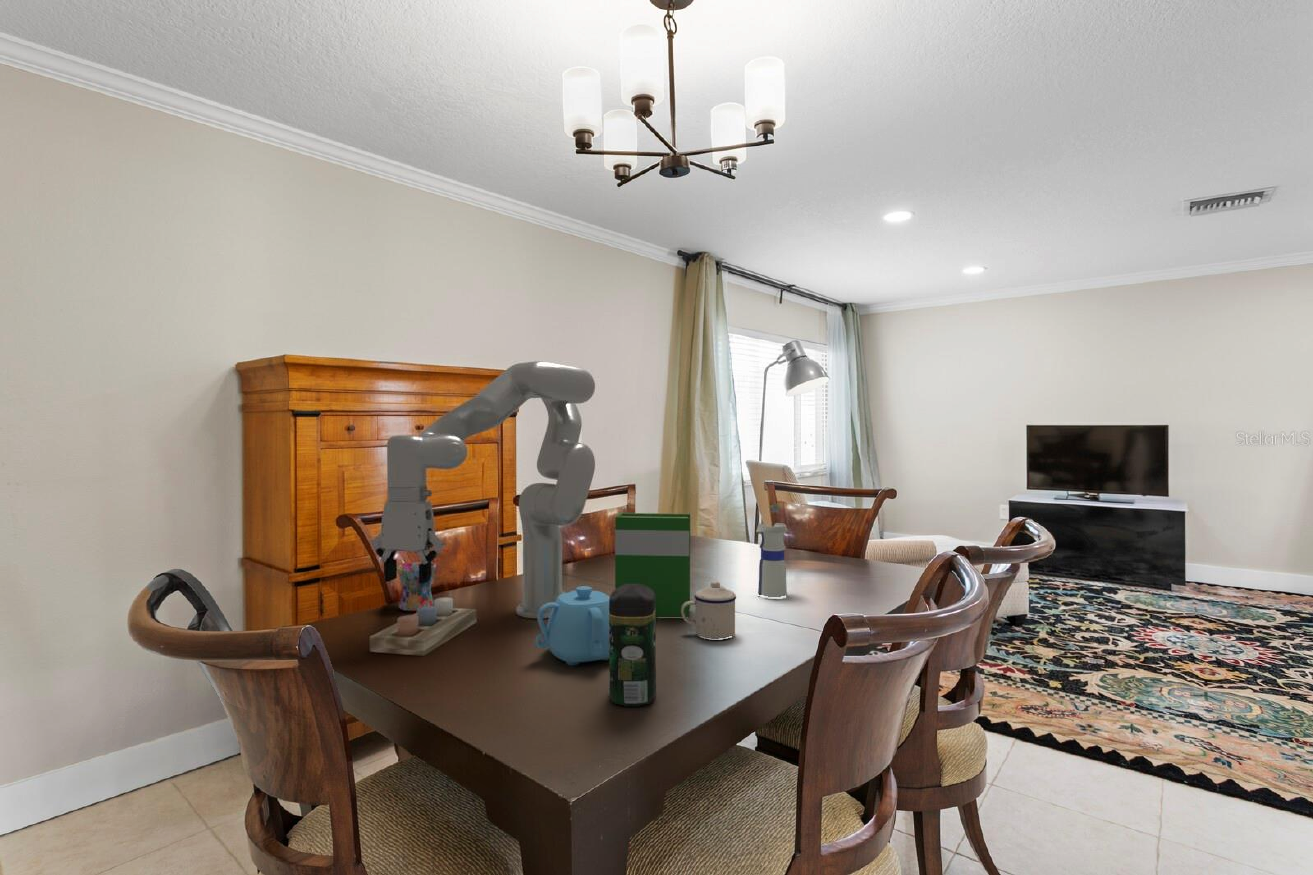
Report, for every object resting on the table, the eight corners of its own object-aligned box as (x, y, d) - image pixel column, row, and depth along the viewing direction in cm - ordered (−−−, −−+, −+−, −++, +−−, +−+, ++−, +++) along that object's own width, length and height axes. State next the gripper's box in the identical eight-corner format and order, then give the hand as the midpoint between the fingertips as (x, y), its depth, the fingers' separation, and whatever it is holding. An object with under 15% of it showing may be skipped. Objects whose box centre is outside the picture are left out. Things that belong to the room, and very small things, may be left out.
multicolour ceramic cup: (420, 615, 153) (420, 571, 152) (388, 611, 155) (388, 568, 155) (450, 601, 164) (450, 561, 164) (419, 599, 167) (419, 559, 167)
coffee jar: (612, 684, 112) (612, 579, 112) (657, 685, 112) (657, 580, 111) (605, 708, 102) (605, 594, 102) (654, 709, 102) (654, 595, 102)
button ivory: (456, 613, 146) (456, 597, 146) (447, 619, 142) (447, 602, 142) (440, 612, 147) (440, 597, 146) (430, 618, 143) (430, 601, 143)
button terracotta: (422, 633, 132) (422, 615, 132) (411, 639, 128) (411, 621, 128) (405, 632, 133) (404, 614, 133) (393, 638, 129) (393, 620, 129)
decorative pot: (525, 661, 123) (525, 591, 123) (574, 636, 137) (574, 574, 137) (594, 677, 115) (594, 603, 115) (639, 649, 129) (638, 583, 129)
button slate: (440, 623, 139) (440, 606, 139) (430, 628, 135) (430, 611, 135) (423, 622, 140) (423, 605, 140) (413, 627, 136) (413, 610, 136)
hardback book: (690, 610, 157) (690, 513, 157) (689, 619, 150) (689, 518, 149) (619, 608, 159) (619, 512, 158) (615, 617, 151) (615, 517, 151)
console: (476, 622, 147) (476, 609, 147) (423, 655, 125) (423, 640, 125) (429, 619, 149) (429, 606, 149) (369, 651, 128) (369, 636, 128)
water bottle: (751, 592, 174) (752, 501, 173) (782, 591, 175) (782, 501, 174) (760, 600, 166) (760, 505, 165) (791, 599, 167) (792, 505, 166)
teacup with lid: (734, 628, 143) (734, 577, 142) (737, 642, 134) (737, 587, 133) (681, 627, 143) (681, 576, 143) (680, 641, 134) (681, 586, 134)
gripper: (455, 494, 132) (455, 579, 132) (380, 492, 135) (381, 575, 136) (435, 498, 125) (436, 588, 125) (357, 496, 128) (358, 583, 128)
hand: (407, 580), depth 130 cm, fingers open, 7 cm apart
